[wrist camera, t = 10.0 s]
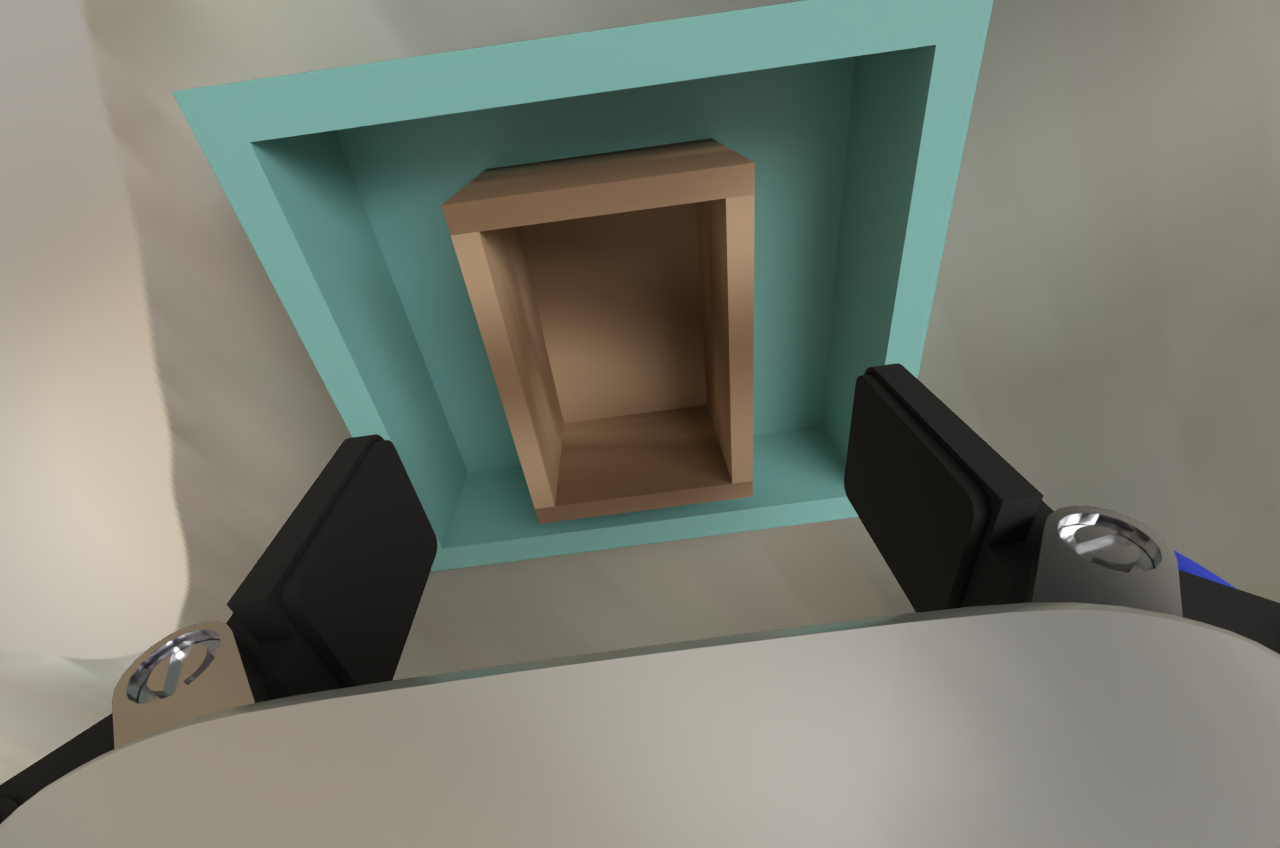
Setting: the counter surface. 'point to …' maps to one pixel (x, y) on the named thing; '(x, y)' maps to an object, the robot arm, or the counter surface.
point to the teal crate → (591, 124)
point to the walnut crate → (618, 322)
